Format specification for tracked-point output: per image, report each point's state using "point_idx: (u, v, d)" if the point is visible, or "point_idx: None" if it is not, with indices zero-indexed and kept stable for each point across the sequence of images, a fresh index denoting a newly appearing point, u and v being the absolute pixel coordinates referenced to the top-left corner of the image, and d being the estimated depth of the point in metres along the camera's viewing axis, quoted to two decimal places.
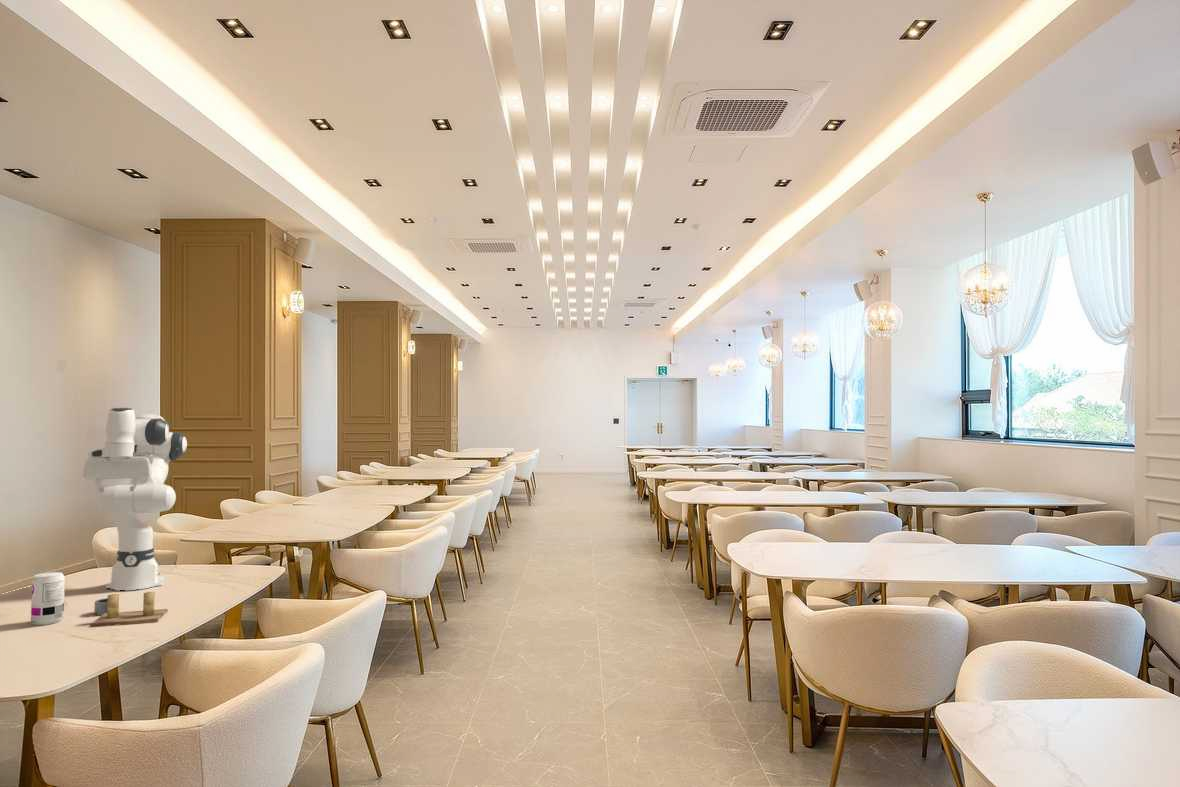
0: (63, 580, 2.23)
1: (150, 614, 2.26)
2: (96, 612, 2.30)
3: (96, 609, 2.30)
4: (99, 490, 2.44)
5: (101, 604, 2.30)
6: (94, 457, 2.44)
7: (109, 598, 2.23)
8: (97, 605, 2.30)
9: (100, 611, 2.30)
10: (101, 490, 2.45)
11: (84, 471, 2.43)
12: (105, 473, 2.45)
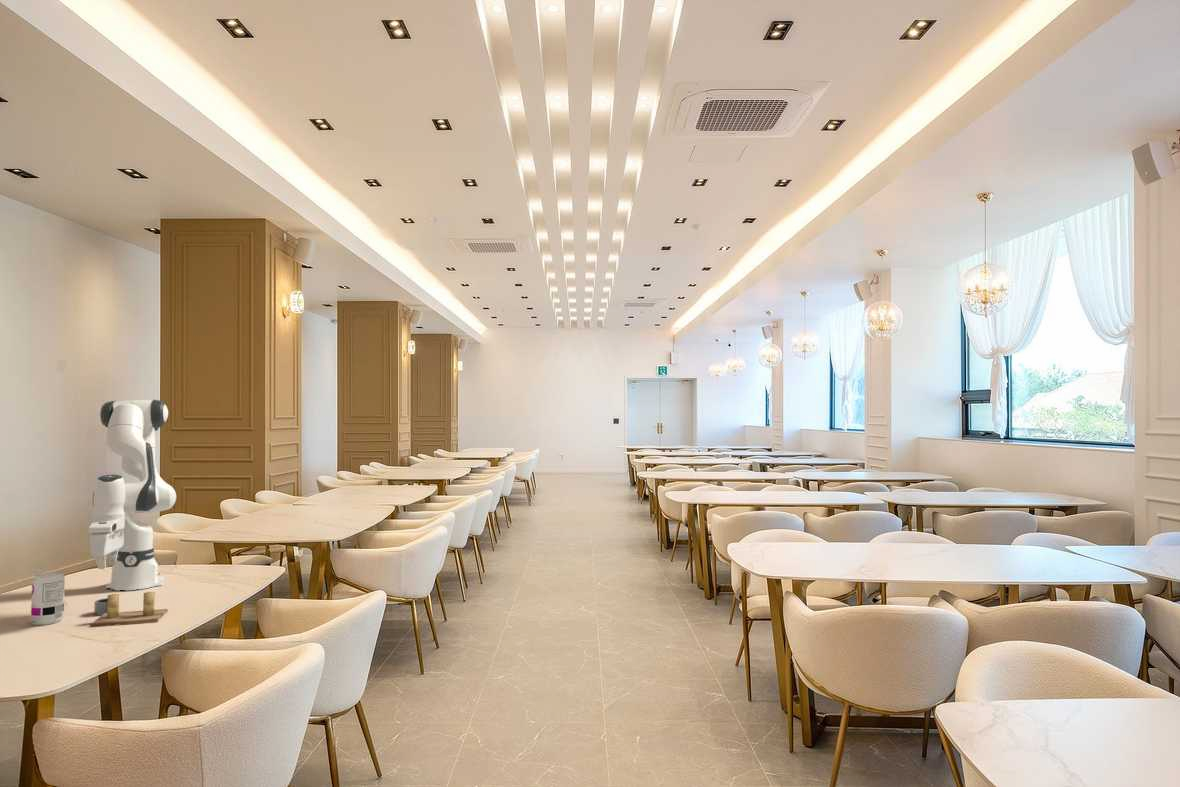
0: (63, 580, 2.23)
1: (150, 614, 2.26)
2: (96, 612, 2.30)
3: (96, 609, 2.30)
4: (105, 566, 2.29)
5: (101, 604, 2.30)
6: (112, 532, 2.28)
7: (109, 598, 2.23)
8: (97, 605, 2.30)
9: (100, 611, 2.30)
10: (105, 566, 2.29)
11: (105, 548, 2.25)
12: (110, 547, 2.31)
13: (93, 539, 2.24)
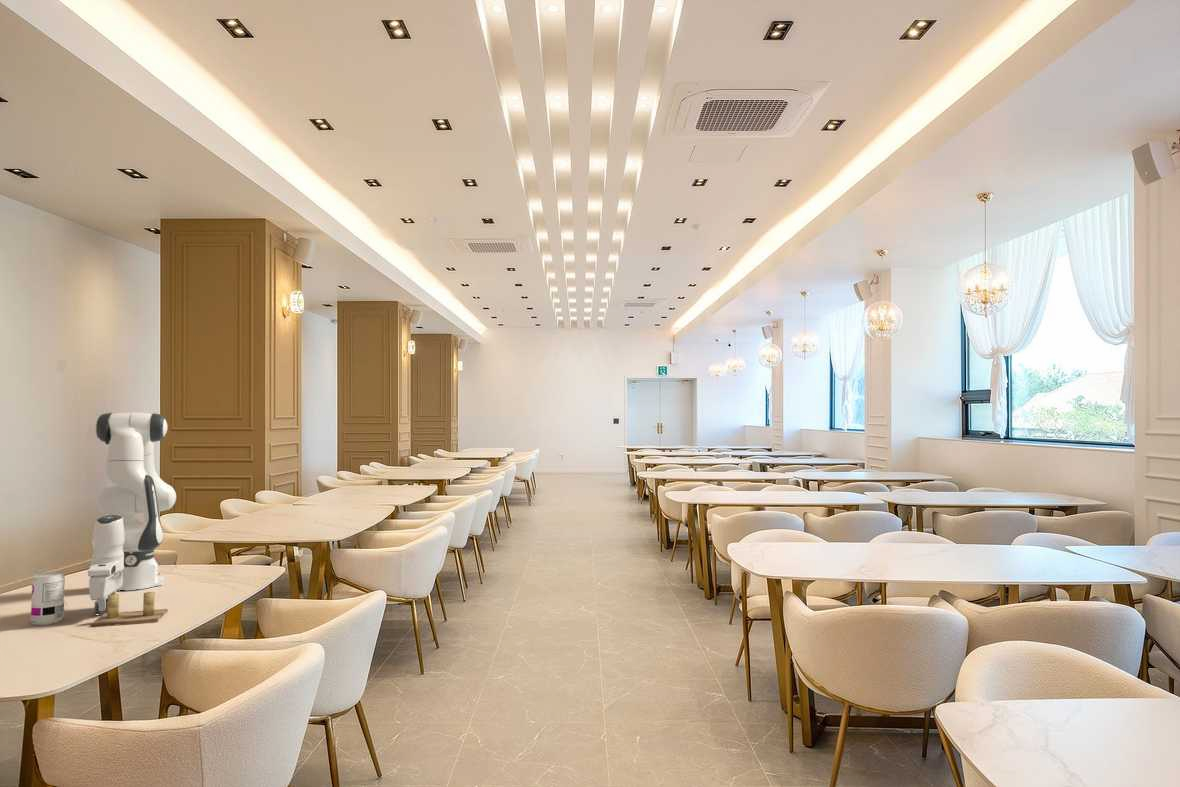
0: (63, 580, 2.23)
1: (150, 614, 2.26)
2: (96, 612, 2.30)
3: (96, 609, 2.30)
4: (105, 608, 2.29)
5: None
6: (111, 574, 2.28)
7: (109, 598, 2.23)
8: (97, 605, 2.30)
9: (100, 611, 2.30)
10: None
11: (104, 591, 2.25)
12: (110, 589, 2.30)
13: (92, 582, 2.24)
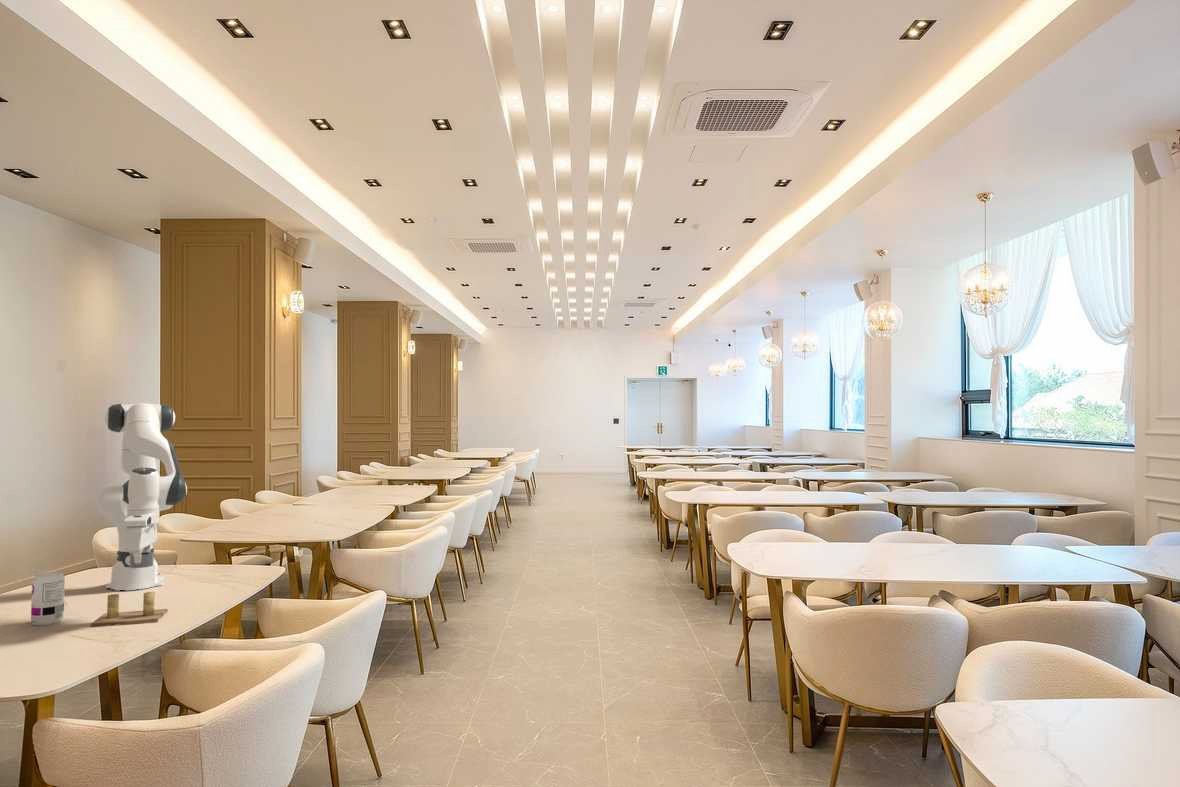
0: (63, 580, 2.23)
1: (150, 614, 2.26)
2: (131, 565, 2.25)
3: (131, 562, 2.25)
4: (141, 560, 2.24)
5: None
6: (147, 525, 2.23)
7: (109, 598, 2.23)
8: (132, 558, 2.25)
9: (135, 564, 2.25)
10: (141, 560, 2.25)
11: (140, 542, 2.20)
12: (145, 542, 2.26)
13: (128, 533, 2.19)
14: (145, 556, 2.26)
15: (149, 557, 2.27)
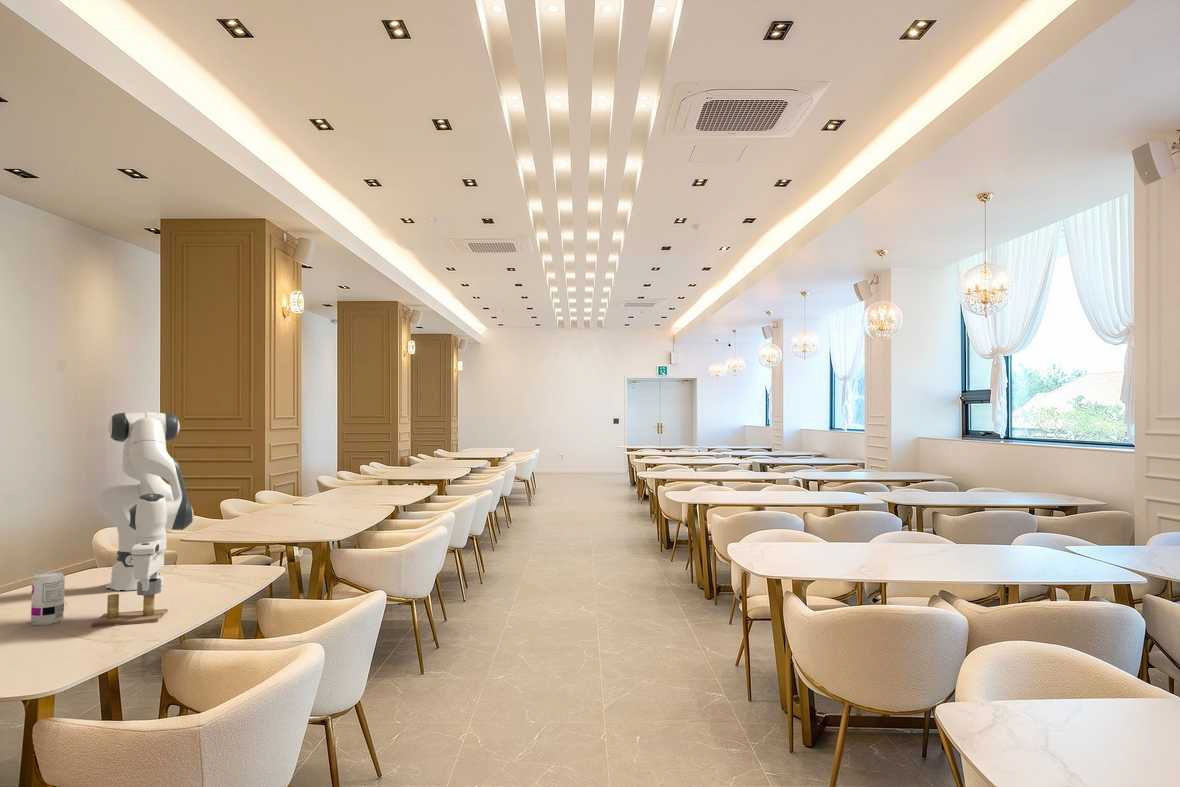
0: (63, 580, 2.23)
1: (150, 614, 2.26)
2: (139, 592, 2.24)
3: (139, 589, 2.24)
4: (148, 588, 2.24)
5: None
6: (155, 553, 2.22)
7: (109, 598, 2.23)
8: (140, 585, 2.24)
9: (143, 591, 2.24)
10: (149, 588, 2.24)
11: (148, 570, 2.19)
12: (153, 569, 2.25)
13: (136, 561, 2.18)
14: (153, 583, 2.25)
15: (157, 584, 2.27)
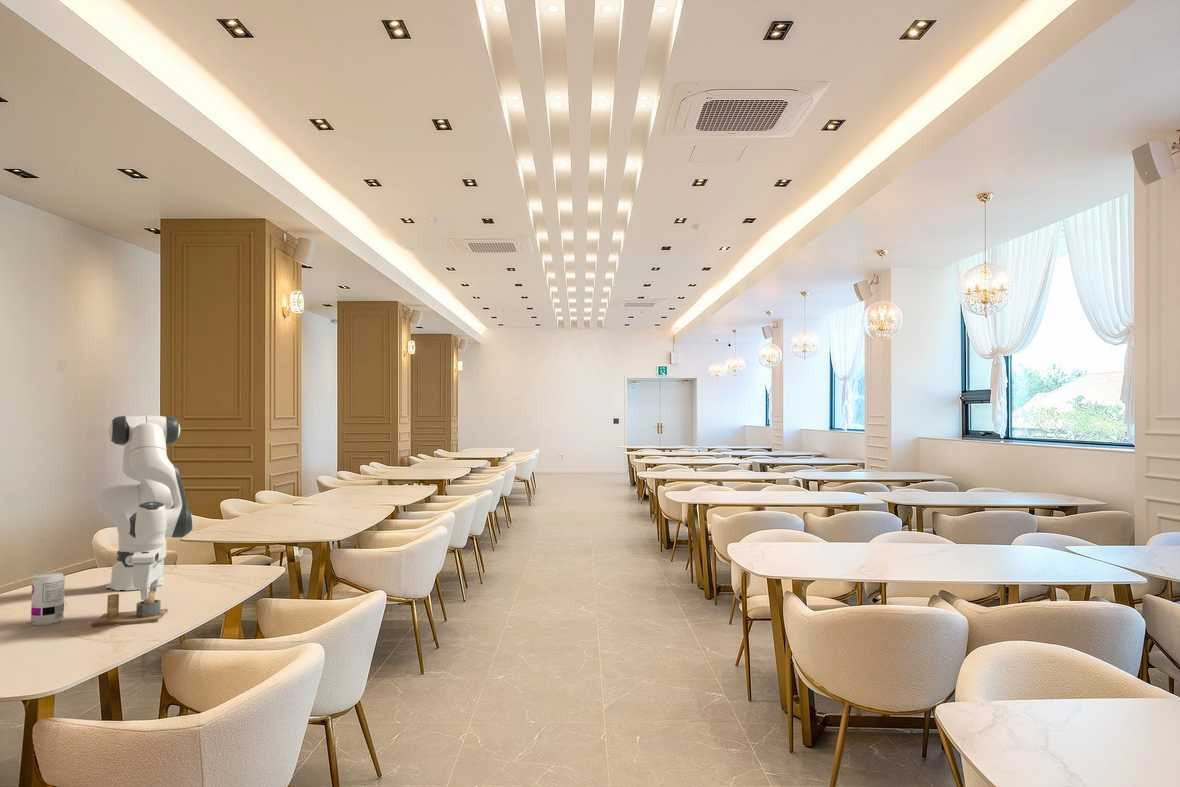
0: (63, 580, 2.23)
1: None
2: (138, 614, 2.24)
3: (138, 611, 2.24)
4: (147, 597, 2.23)
5: (143, 606, 2.24)
6: (154, 561, 2.22)
7: (109, 598, 2.23)
8: (139, 607, 2.24)
9: (142, 613, 2.24)
10: (148, 597, 2.23)
11: (148, 579, 2.19)
12: (153, 577, 2.25)
13: (136, 570, 2.18)
14: (152, 605, 2.25)
15: (156, 606, 2.26)
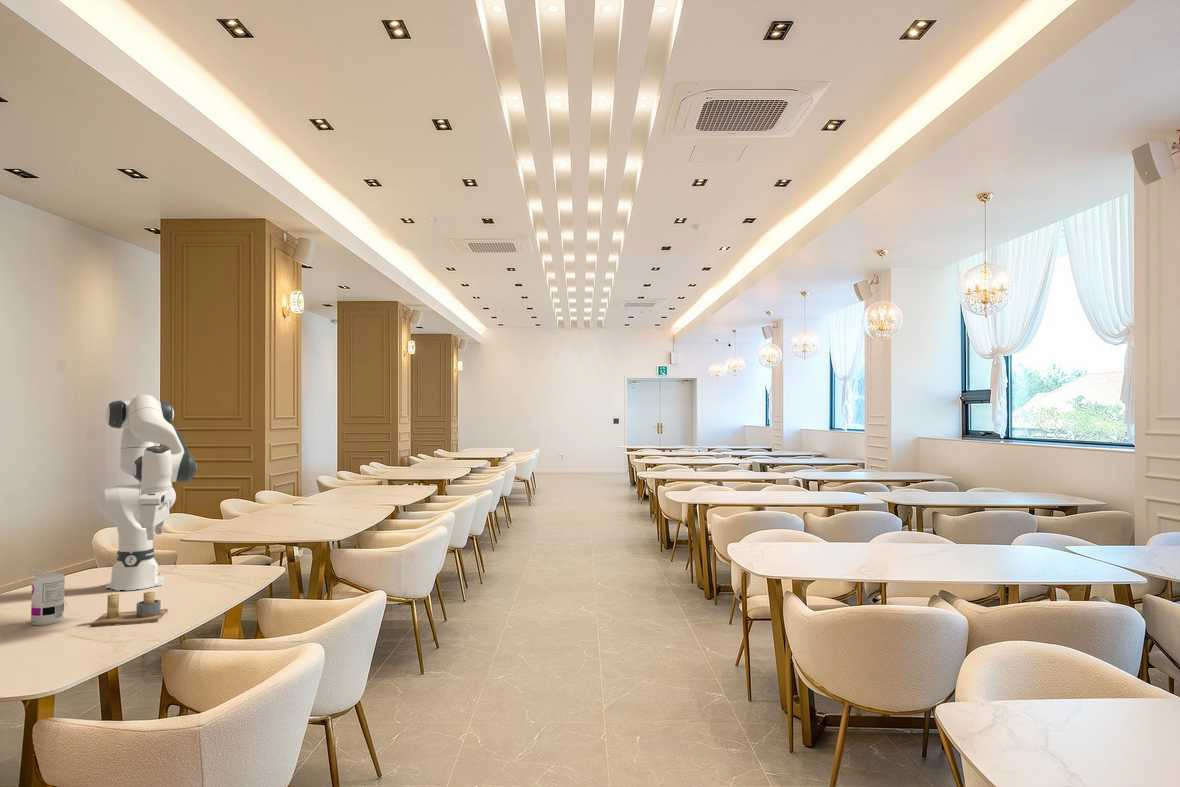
0: (63, 580, 2.23)
1: None
2: (138, 614, 2.24)
3: (138, 611, 2.24)
4: (153, 537, 2.29)
5: (143, 606, 2.24)
6: (160, 503, 2.28)
7: (109, 598, 2.23)
8: (139, 607, 2.24)
9: (142, 613, 2.24)
10: (154, 537, 2.30)
11: (154, 519, 2.25)
12: (158, 519, 2.31)
13: (142, 510, 2.24)
14: (152, 605, 2.25)
15: (156, 606, 2.26)
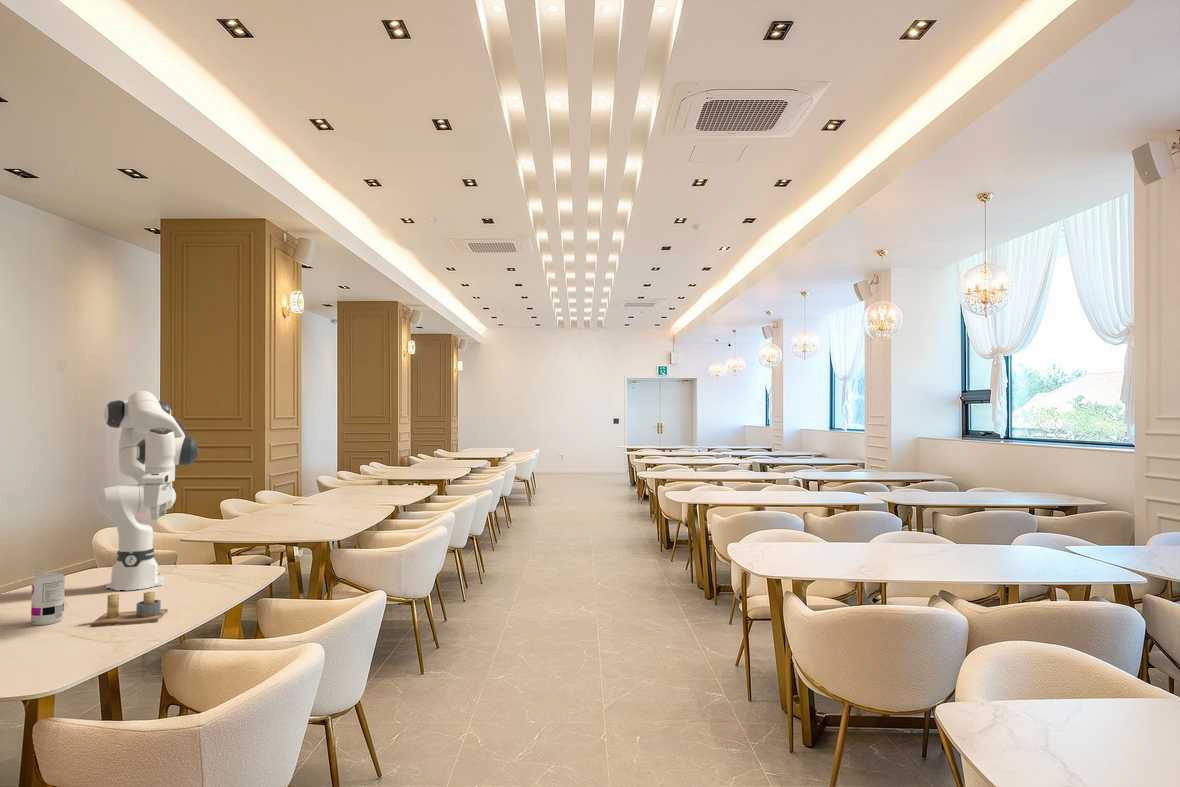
0: (63, 580, 2.23)
1: None
2: (138, 614, 2.24)
3: (138, 611, 2.24)
4: (157, 517, 2.32)
5: (143, 606, 2.24)
6: (164, 483, 2.32)
7: (109, 598, 2.23)
8: (139, 607, 2.24)
9: (142, 613, 2.24)
10: None
11: (158, 498, 2.29)
12: (162, 499, 2.34)
13: (147, 489, 2.28)
14: (152, 605, 2.25)
15: (156, 606, 2.26)
